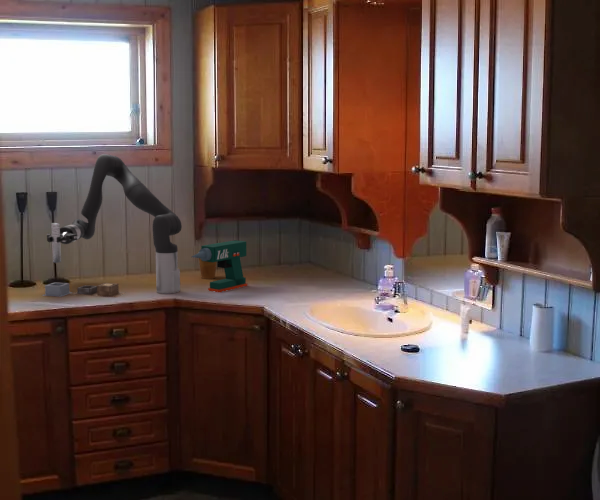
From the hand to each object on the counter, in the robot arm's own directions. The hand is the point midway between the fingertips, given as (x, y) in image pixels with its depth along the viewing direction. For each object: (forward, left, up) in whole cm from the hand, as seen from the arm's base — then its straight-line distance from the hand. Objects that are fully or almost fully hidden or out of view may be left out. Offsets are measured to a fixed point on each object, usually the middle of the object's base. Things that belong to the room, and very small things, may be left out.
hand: (53, 239), depth 332 cm
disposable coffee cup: (-44, -58, -24) cm, 77 cm away
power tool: (-59, -31, -24) cm, 71 cm away
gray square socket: (+1, -2, -24) cm, 24 cm away
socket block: (-15, -7, -24) cm, 29 cm away
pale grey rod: (+1, -3, -10) cm, 10 cm away
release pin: (-20, -7, -22) cm, 30 cm away
